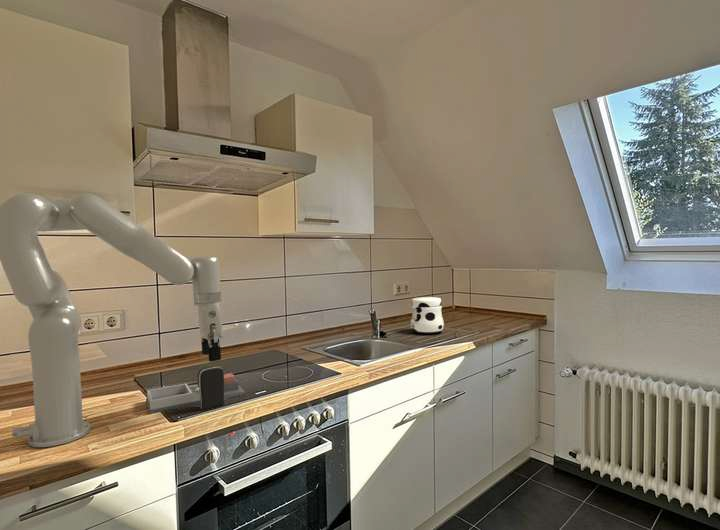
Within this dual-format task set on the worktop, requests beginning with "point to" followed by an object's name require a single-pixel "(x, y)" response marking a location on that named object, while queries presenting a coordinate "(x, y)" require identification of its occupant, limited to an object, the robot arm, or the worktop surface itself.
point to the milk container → (427, 315)
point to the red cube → (229, 378)
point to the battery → (211, 387)
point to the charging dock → (183, 396)
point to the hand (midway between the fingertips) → (211, 357)
